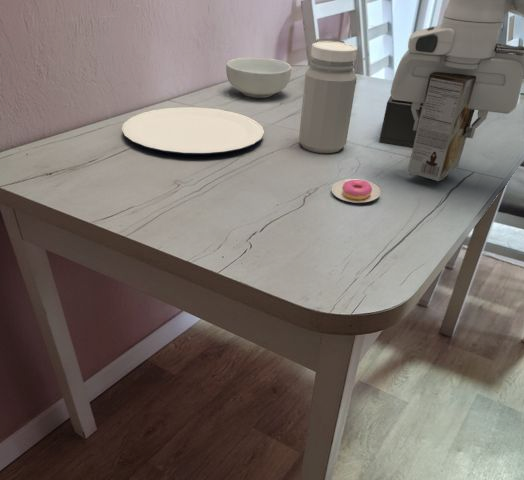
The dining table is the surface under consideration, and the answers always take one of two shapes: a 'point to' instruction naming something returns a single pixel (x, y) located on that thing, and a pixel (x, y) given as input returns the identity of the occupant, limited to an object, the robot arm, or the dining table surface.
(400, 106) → the basket
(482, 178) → the dining table surface
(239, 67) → the cereal bowl
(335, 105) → the jar
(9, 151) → the dining table surface
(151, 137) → the plate
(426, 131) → the coffee box
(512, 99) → the robot arm
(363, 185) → the donut
